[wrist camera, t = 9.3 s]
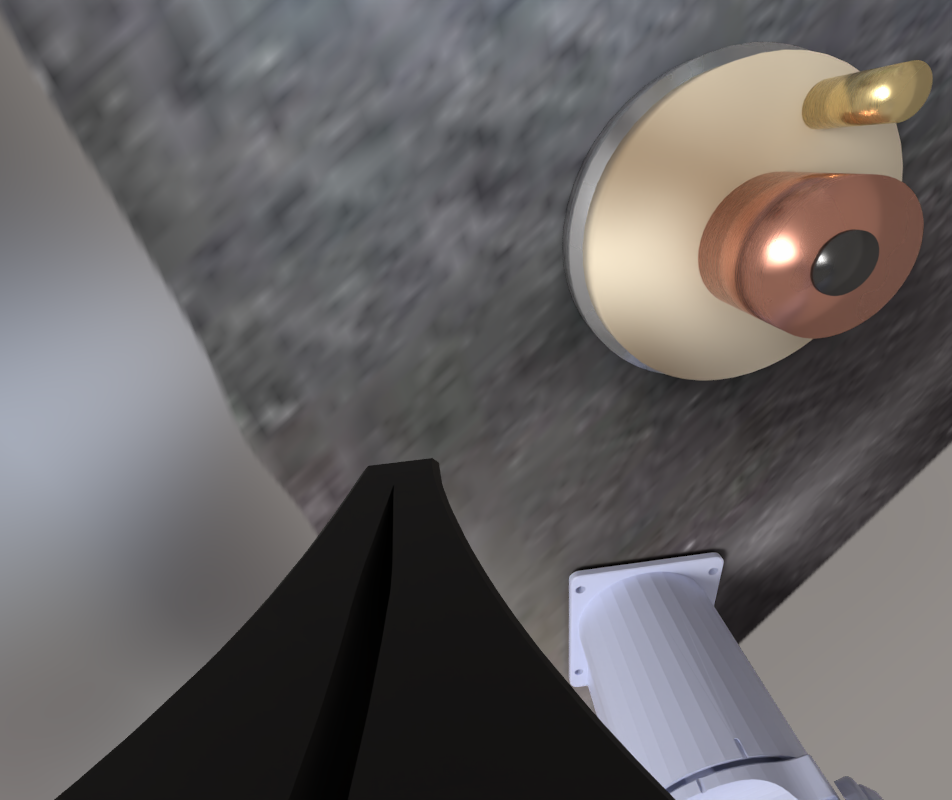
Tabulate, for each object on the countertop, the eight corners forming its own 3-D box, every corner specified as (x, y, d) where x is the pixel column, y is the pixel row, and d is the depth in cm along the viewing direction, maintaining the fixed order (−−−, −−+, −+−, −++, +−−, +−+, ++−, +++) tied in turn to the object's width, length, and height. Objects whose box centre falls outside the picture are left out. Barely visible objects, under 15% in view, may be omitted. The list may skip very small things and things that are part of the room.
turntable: (756, 394, 18) (826, 445, 15) (538, 325, 16) (565, 367, 13) (932, 133, 14) (1079, 125, 11) (674, -4, 12) (763, -63, 9)
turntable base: (811, 349, 19) (831, 358, 18) (562, 379, 19) (569, 391, 18) (895, 33, 14) (928, 24, 13) (561, 66, 14) (570, 60, 13)
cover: (776, 319, 16) (857, 356, 13) (675, 286, 15) (736, 317, 12) (851, 196, 14) (965, 206, 11) (742, 151, 13) (833, 149, 10)
